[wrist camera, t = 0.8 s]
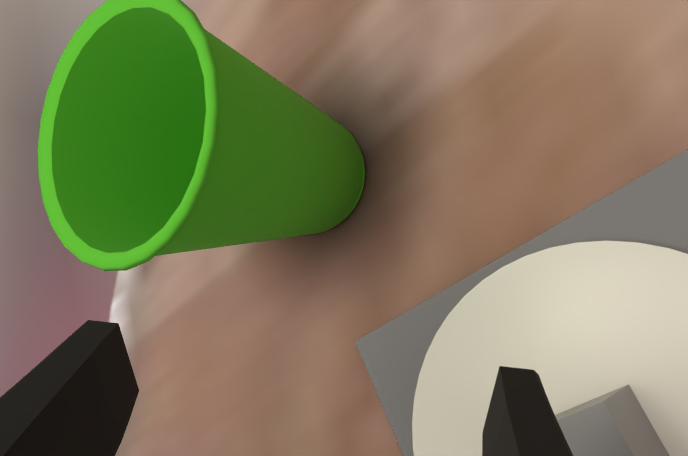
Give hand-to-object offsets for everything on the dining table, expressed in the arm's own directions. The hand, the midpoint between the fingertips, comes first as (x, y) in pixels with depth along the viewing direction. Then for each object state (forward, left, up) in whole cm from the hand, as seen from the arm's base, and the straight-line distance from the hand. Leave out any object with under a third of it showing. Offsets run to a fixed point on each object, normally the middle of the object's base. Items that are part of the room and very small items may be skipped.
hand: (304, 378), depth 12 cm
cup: (+10, +5, -13) cm, 18 cm away
